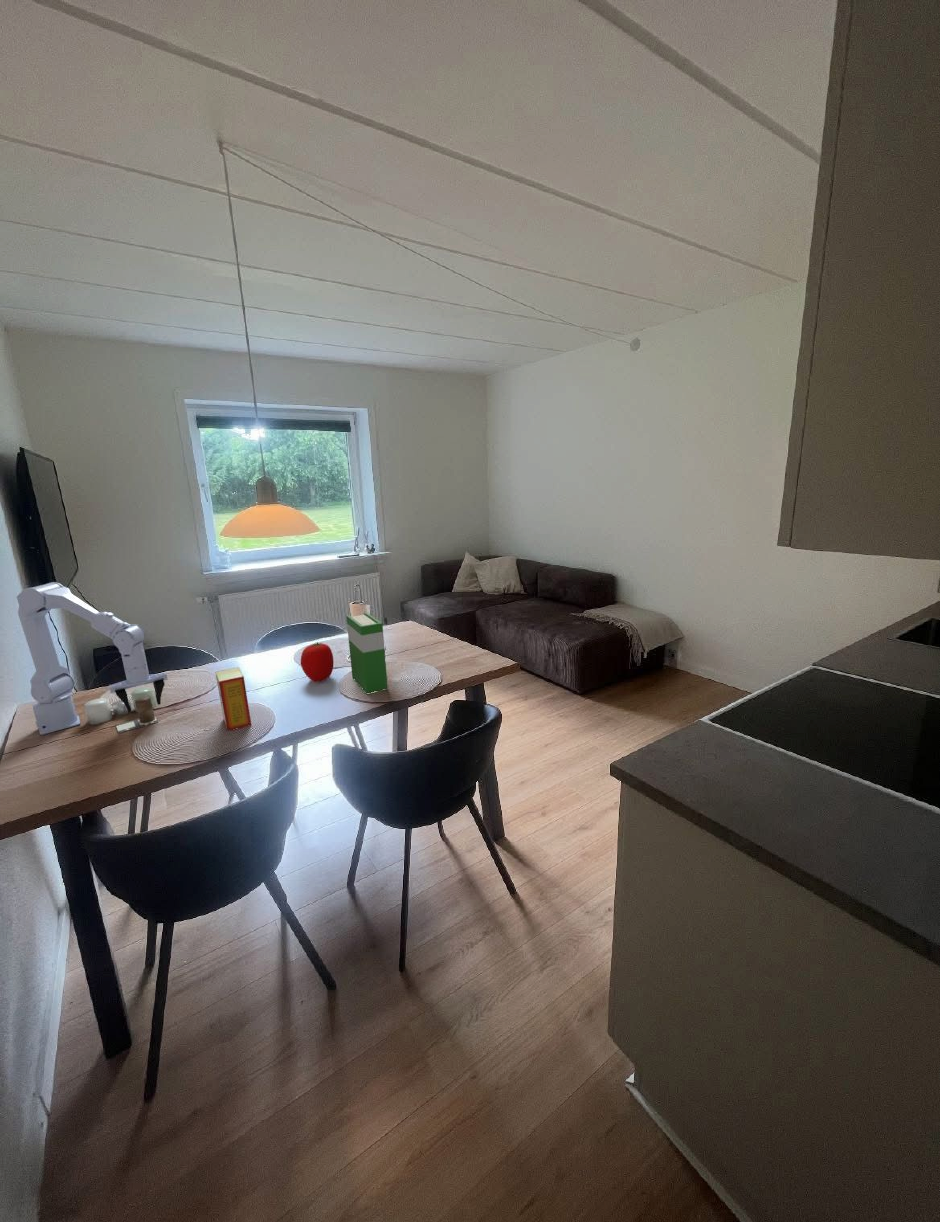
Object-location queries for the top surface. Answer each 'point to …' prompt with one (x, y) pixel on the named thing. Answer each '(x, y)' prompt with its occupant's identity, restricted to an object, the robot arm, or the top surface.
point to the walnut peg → (144, 709)
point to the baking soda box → (233, 698)
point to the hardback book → (367, 652)
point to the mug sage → (143, 695)
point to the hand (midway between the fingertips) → (144, 707)
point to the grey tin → (120, 708)
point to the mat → (133, 725)
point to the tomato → (317, 662)
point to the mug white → (98, 711)
